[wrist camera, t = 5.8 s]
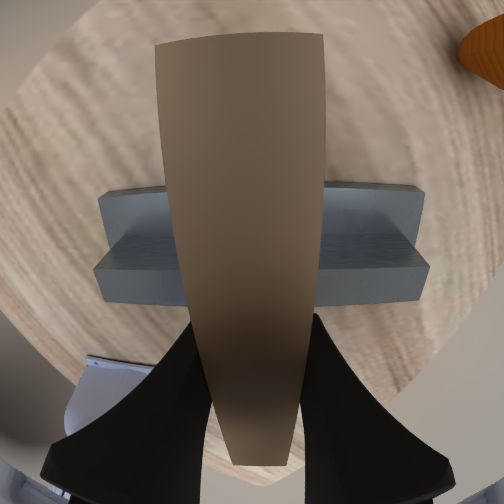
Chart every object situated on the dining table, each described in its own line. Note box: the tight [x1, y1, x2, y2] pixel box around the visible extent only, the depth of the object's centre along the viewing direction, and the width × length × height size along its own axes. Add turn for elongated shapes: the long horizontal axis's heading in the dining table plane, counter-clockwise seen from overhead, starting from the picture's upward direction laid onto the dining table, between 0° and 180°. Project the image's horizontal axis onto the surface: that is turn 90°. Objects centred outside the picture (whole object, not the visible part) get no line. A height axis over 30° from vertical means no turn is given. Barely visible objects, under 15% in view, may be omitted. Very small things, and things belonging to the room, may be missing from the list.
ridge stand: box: [93, 181, 430, 307], centre depth 14 cm, size 18×7×5 cm, turn 92°
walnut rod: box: [155, 32, 326, 466], centre depth 10 cm, size 3×18×4 cm, turn 2°
